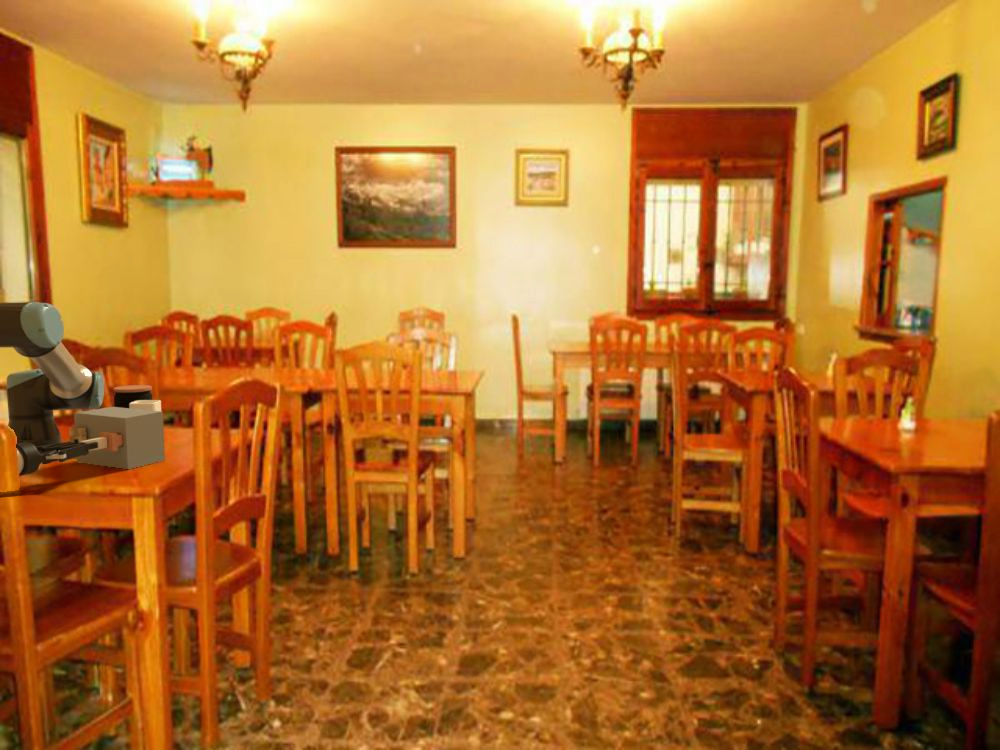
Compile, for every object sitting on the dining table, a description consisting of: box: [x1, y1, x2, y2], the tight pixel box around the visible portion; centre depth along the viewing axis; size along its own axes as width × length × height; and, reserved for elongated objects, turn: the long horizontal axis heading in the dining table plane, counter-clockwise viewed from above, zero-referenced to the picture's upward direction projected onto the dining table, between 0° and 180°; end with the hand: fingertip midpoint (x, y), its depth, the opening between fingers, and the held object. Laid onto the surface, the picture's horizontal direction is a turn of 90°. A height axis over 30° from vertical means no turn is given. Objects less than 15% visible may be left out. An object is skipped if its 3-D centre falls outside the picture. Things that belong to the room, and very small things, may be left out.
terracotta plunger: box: [100, 432, 123, 451], centre depth 198 cm, size 5×12×5 cm, turn 156°
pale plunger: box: [68, 426, 87, 443], centre depth 205 cm, size 5×12×5 cm, turn 156°
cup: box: [129, 399, 162, 411], centre depth 217 cm, size 7×7×15 cm
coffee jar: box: [113, 384, 153, 408], centre depth 226 cm, size 11×11×18 cm
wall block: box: [73, 406, 166, 470], centre depth 204 cm, size 20×12×14 cm, turn 66°
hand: (105, 442), depth 192 cm, fingers closed
